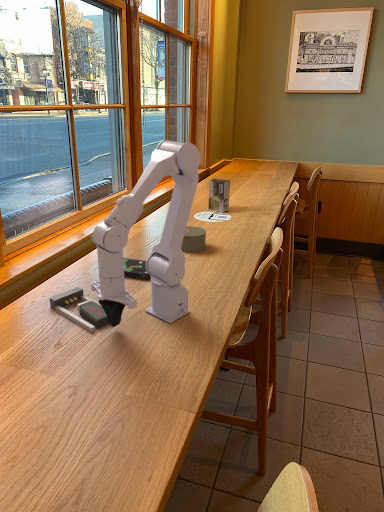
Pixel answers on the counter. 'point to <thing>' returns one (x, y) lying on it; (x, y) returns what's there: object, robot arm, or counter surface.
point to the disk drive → (135, 269)
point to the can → (193, 240)
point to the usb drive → (93, 313)
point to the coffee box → (219, 195)
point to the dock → (70, 298)
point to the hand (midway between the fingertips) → (114, 324)
